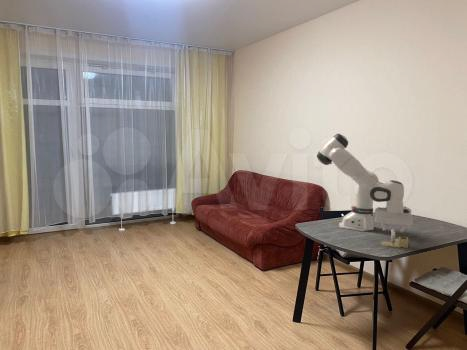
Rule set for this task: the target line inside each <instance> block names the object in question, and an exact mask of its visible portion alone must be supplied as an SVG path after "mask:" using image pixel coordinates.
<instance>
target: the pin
mask: <svg viewBox="0 0 467 350" xmlns="http://www.w3.org/2000/svg"><path fill="white" fill-rule="evenodd" d="M390 234H391V235H390V242H396V241H395V239H396V238H395V237H396V229H394V228H391V233H390Z"/></svg>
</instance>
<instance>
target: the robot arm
mask: <svg viewBox="0 0 467 350" xmlns="http://www.w3.org/2000/svg"><path fill="white" fill-rule="evenodd" d="M348 145H349V140H348V138H347V137H346V136H345V134H342V133H336V134H334V135H333V137H331V138H330V139H329V140H328V141H327V142H326V143H325V145H323V147H321V149H320V150H319V151H318V152H317V154H316V158H317V160H318V162H319V163H320V164H322V165H324V166H329V165H333V164H334V165H335V167H337V168H338V170H339V171H341V173H343V174H345V175H346V176H348V177H350V178H351V179H352V181H354V182H355V183H356V184H357V185H358V190H357V193H356V194H355V201H354V203H355V205H352V206H351V208H350V209H351V211H350V212H348V213H347V214H345V215H344V216H343V218H342V221H340V222H339V223H338V226H339V228H342V229H347V230H353V231H359V232H366V231H373V230H374V229H375V228H374V223H373V216H374V214H375V216H374V222H375V223H376V224H380V226H381V227H382V231H385V232H386V229H387V228H386V227H385V226H384V225H385V224H386V225H396V226H397V225H398V226H402V227H401V228H400V229H399V232H400V233H404V231H405V229H406V228H407V226H408V227H412V226H413V225H414V219H413V217H414V216H413V215H412V209H411V208H410V207H407V206H404V201H403V200H404V197H405V187H404V184H403V183H402V182H401V181H398V180H393V179H391V180H389V181H386V182H385V183H383V182H380V180H379V177H378V176H377V175H376V173H374V172H372V171H370V170H368V169H366V168H365V167H364V166H363V164H362V163H361V162H360V161H359V160H358V159H357V158H356V157H355V156H354V155H353V154H352V153H351V152H349V151H348V150H347V149H346V148H348ZM332 163H333V164H332ZM374 202H378V203H382V202H384V203H385V202H386V207H381V206H380V207H379V206H378V207H375V209H374V207H373V206H374Z"/></svg>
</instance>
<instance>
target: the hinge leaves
mask: <svg viewBox="0 0 467 350" xmlns="http://www.w3.org/2000/svg"><path fill="white" fill-rule="evenodd" d="M381 246H382V247H388V246H389V247H391V248H397V247H398V249H400V248H401V247H403V248H404V249H408V248H409V238H408V237H406V236H398V238H395V241H394V242H391V241H384V240H381ZM403 248H402V249H403Z"/></svg>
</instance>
